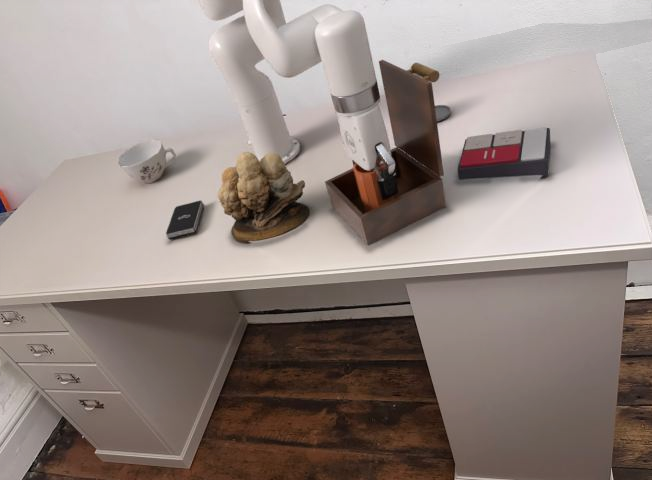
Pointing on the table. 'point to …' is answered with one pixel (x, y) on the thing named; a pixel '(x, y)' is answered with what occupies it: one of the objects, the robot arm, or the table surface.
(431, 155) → the lid
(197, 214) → the external hard drive
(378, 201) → the cup
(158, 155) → the teacup
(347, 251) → the table surface
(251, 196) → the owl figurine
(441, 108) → the pocket watch
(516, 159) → the calculator
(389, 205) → the chest
